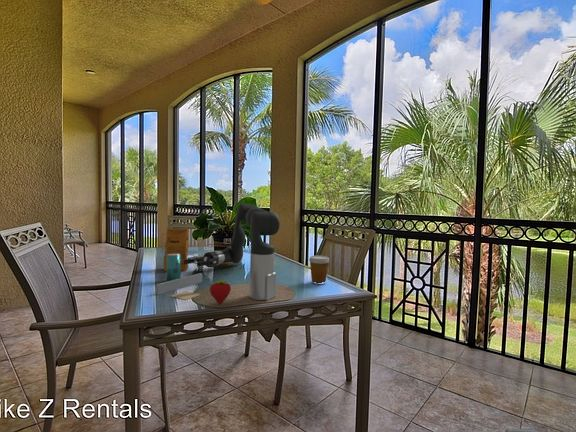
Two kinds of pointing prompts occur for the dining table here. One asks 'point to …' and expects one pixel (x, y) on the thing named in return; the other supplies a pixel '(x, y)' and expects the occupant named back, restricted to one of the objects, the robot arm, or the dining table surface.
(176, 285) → the acrylic wall
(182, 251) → the coffee package
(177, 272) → the can
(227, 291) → the strawberry
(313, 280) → the glass of beer
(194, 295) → the coaster
